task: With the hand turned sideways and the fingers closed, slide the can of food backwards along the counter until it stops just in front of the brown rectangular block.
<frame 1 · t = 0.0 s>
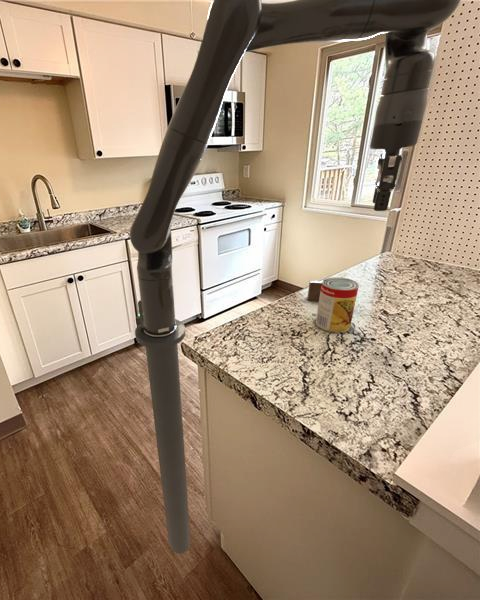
hand: (379, 206, 66), 30 cm above the countertop, tool pointing down, fingers open, 8 cm apart
canned food: (332, 325, 82), on the countertop
brown rectangular block: (325, 300, 94), on the countertop
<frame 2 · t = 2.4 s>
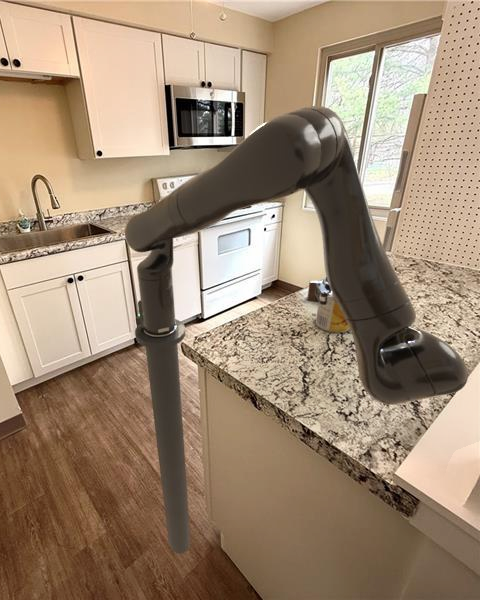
hand: (349, 281, 67), 16 cm above the countertop, tool horizontal, fingers open, 8 cm apart
nothing on the countertop moved.
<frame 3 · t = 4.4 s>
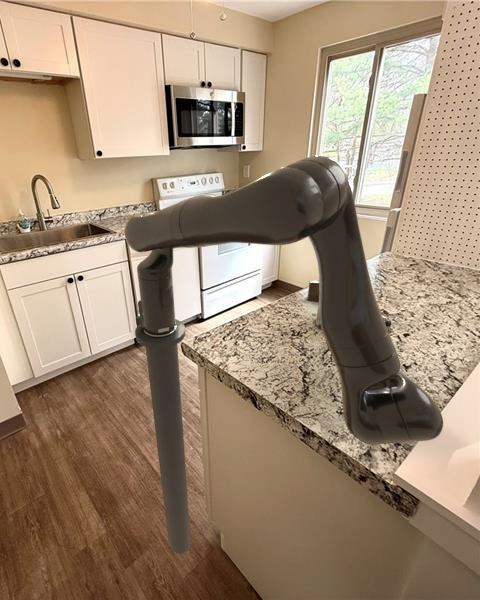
hand: (345, 305, 70), 10 cm above the countertop, tool horizontal, fingers closed
nothing on the countertop moved.
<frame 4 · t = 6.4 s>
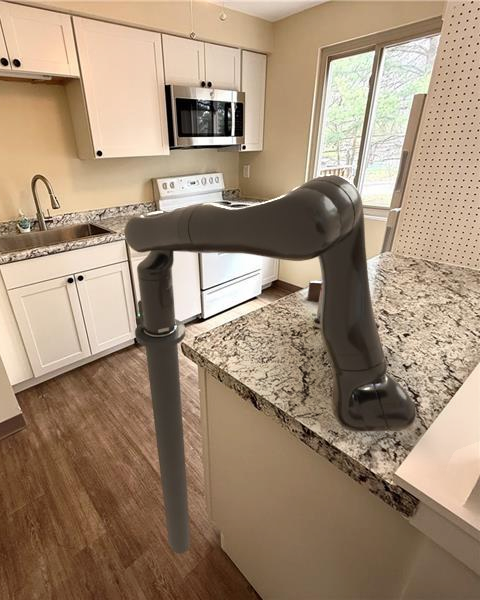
hand: (339, 308, 76), 7 cm above the countertop, tool horizontal, fingers closed
canned food: (332, 324, 82), on the countertop, touching gripper
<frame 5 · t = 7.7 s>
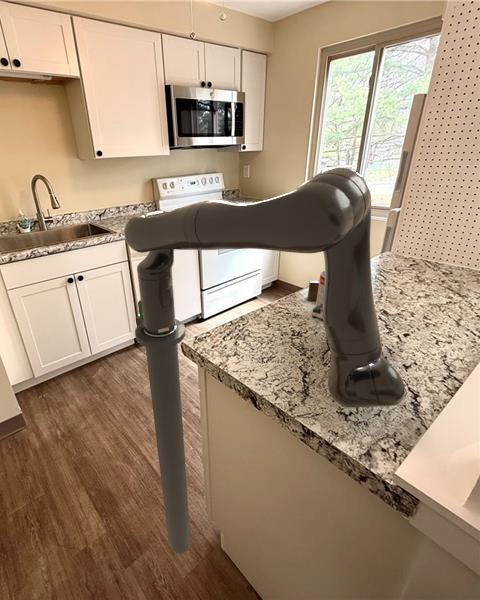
hand: (336, 299, 80), 7 cm above the countertop, tool horizontal, fingers closed
canned food: (330, 315, 86), on the countertop, touching gripper
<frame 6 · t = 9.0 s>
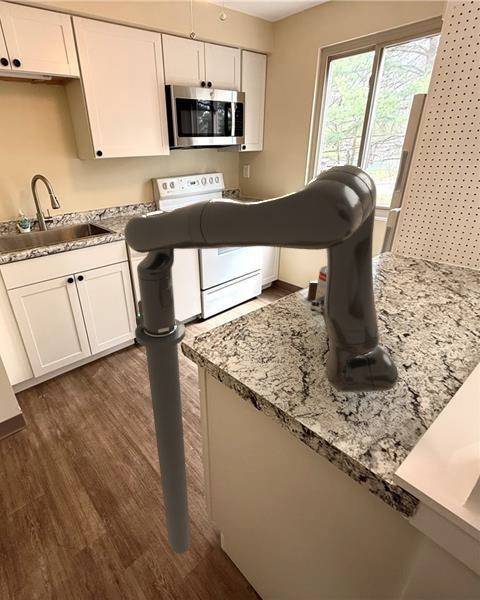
hand: (334, 293, 83), 7 cm above the countertop, tool horizontal, fingers closed
canned food: (329, 309, 89), on the countertop, touching gripper
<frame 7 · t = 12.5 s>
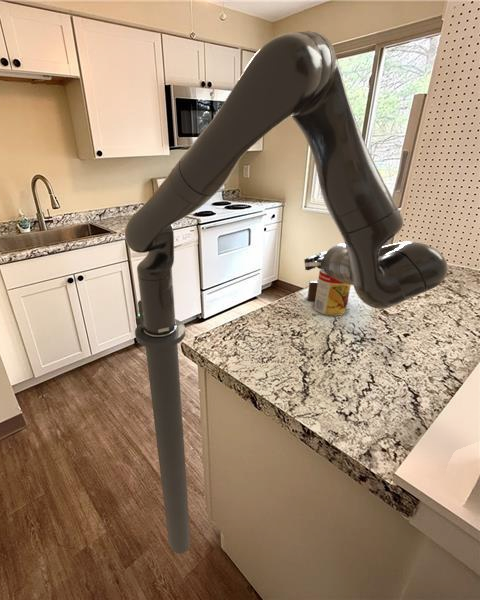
hand: (322, 256, 76), 19 cm above the countertop, tool horizontal, fingers closed
canned food: (329, 309, 89), on the countertop
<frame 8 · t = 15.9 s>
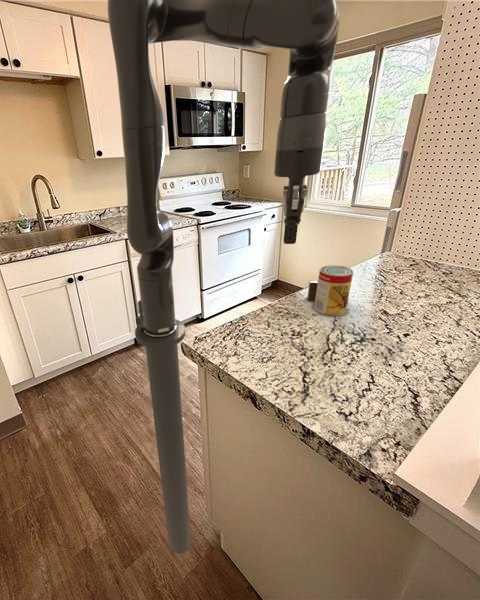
hand: (289, 242, 61), 27 cm above the countertop, tool pointing down, fingers closed
nothing on the countertop moved.
at the end: canned food 0.5 cm from the target spot, on the countertop; canned food tilted 0°; canned food moved 9.2 cm from its start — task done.
